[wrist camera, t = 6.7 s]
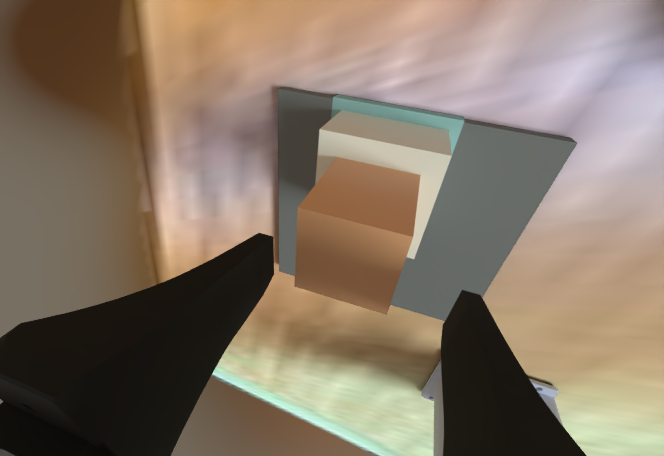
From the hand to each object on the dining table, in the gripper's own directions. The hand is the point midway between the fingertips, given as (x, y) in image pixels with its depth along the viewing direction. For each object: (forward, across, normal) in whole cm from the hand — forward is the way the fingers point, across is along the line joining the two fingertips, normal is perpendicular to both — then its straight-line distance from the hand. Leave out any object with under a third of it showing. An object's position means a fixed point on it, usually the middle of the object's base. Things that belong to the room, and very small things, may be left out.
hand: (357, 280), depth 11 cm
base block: (+9, +1, -1) cm, 9 cm away
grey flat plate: (+10, 0, +3) cm, 10 cm away
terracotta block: (+5, +1, -1) cm, 5 cm away
